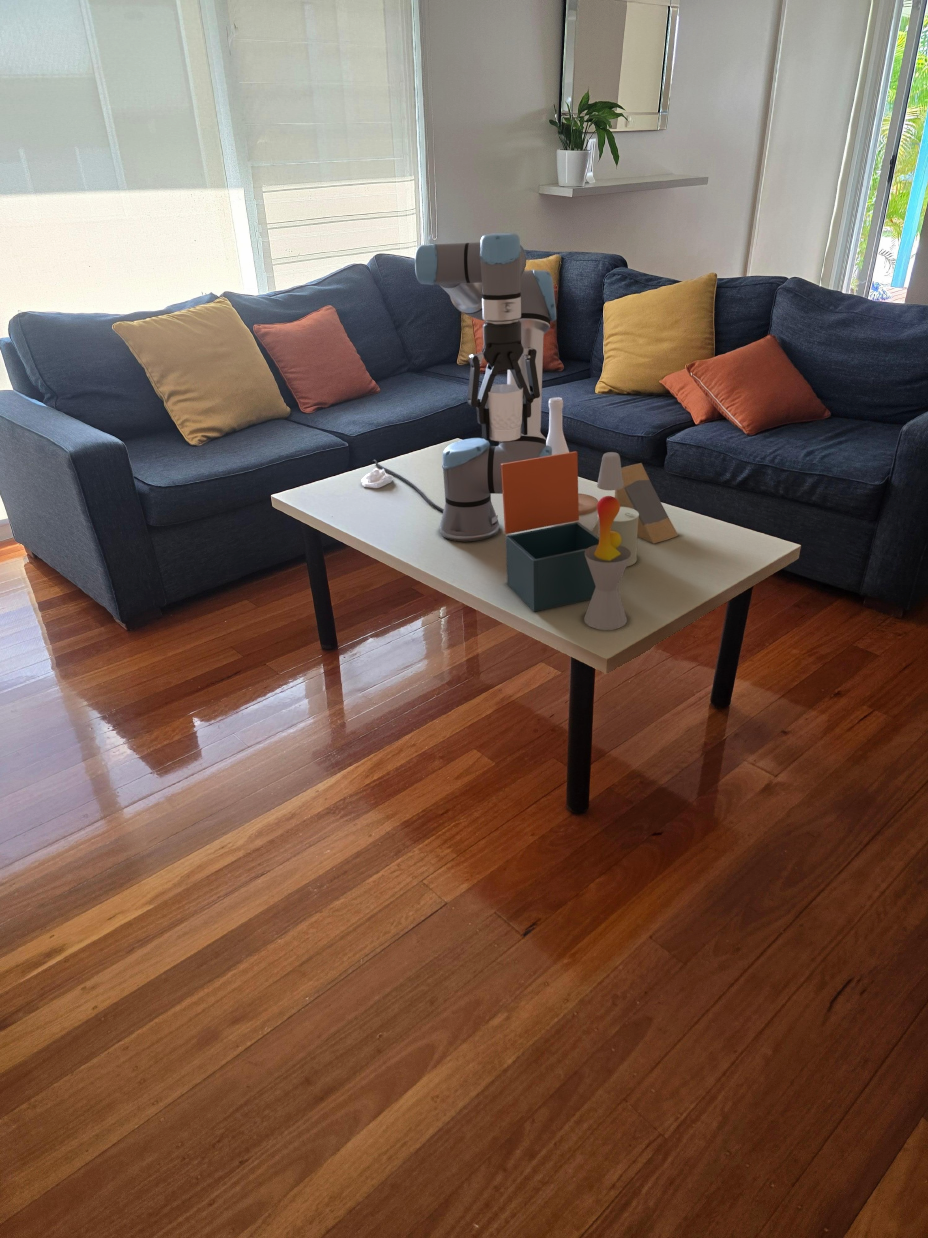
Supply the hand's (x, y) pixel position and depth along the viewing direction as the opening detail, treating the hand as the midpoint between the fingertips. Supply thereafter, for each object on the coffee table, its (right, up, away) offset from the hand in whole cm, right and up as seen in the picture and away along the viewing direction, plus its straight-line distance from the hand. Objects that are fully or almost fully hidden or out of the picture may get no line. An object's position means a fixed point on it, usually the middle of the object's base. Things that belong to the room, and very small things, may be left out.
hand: (504, 435), depth 173 cm
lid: (+8, -11, +7) cm, 16 cm away
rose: (-35, +3, +78) cm, 85 cm away
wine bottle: (+16, -9, +52) cm, 55 cm away
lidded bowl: (+19, -17, +36) cm, 44 cm away
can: (+27, -24, +23) cm, 43 cm away
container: (+12, -32, +11) cm, 35 cm away
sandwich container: (+37, -16, +37) cm, 55 cm away
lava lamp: (+21, -38, -2) cm, 44 cm away
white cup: (0, 0, 0) cm, 0 cm away
